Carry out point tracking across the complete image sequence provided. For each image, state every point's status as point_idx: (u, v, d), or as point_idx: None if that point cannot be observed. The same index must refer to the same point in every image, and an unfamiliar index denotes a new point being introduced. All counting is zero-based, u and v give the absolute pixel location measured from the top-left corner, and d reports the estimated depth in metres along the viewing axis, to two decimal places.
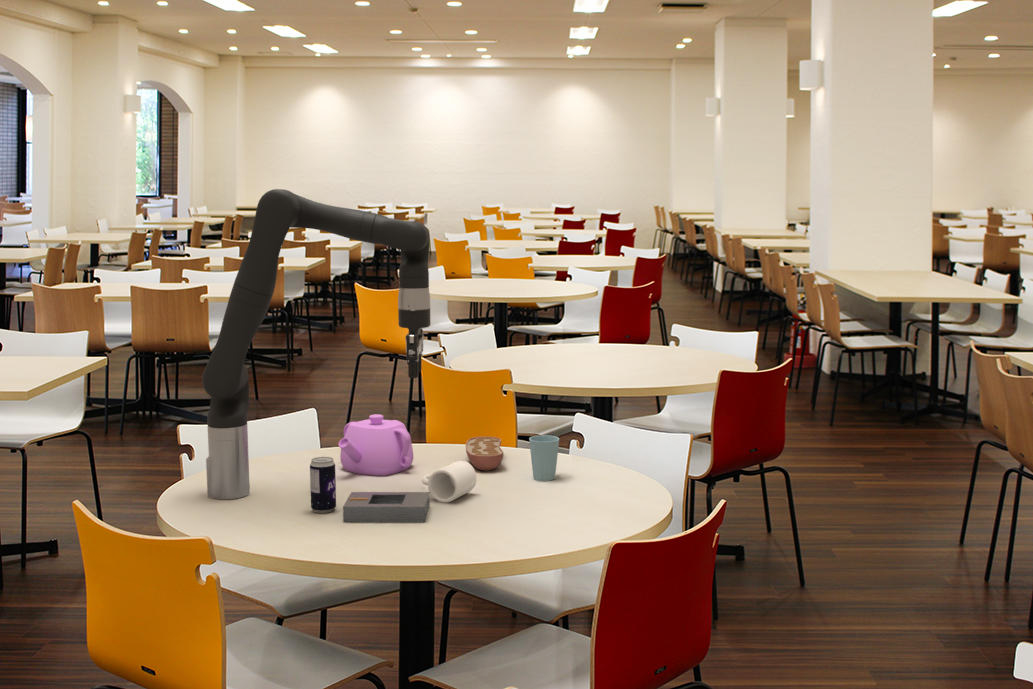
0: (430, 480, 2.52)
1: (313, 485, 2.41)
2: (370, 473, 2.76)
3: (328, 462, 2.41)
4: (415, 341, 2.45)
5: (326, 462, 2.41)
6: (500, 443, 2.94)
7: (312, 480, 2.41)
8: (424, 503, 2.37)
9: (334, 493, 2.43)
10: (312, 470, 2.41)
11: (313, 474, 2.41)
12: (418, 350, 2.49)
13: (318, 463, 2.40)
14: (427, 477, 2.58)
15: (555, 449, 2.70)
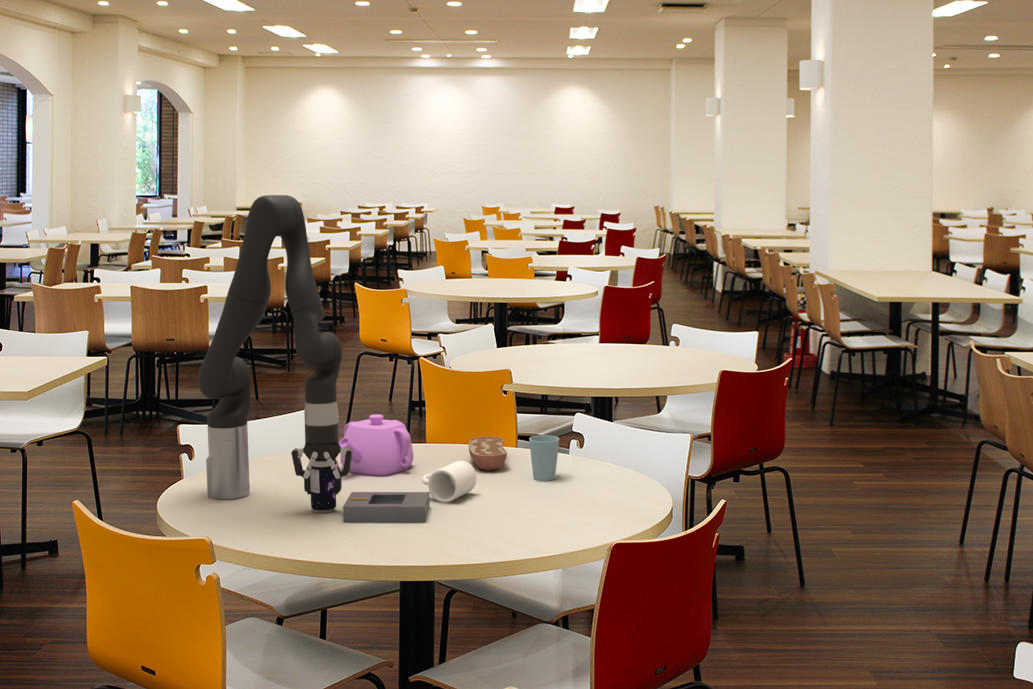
0: (430, 480, 2.52)
1: (313, 485, 2.41)
2: (370, 473, 2.76)
3: None
4: (351, 455, 2.44)
5: (326, 462, 2.41)
6: None
7: (312, 480, 2.41)
8: (424, 503, 2.37)
9: None
10: (312, 470, 2.41)
11: (313, 474, 2.41)
12: (337, 464, 2.44)
13: (318, 463, 2.40)
14: (427, 477, 2.58)
15: (555, 449, 2.70)
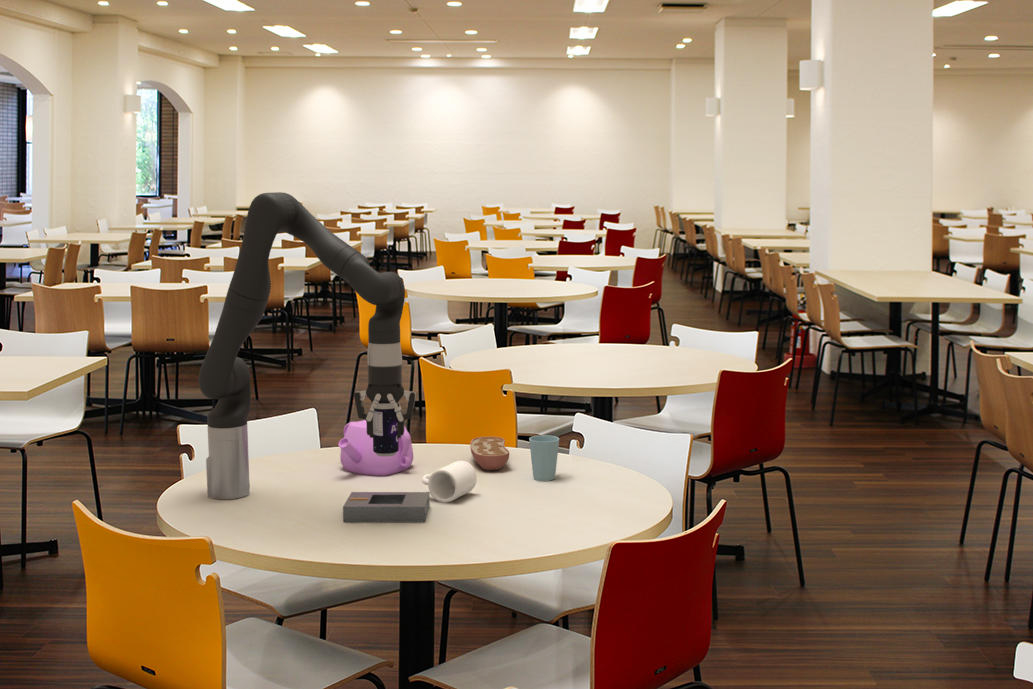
0: (430, 480, 2.52)
1: (376, 428, 2.36)
2: (370, 473, 2.76)
3: (391, 404, 2.36)
4: None
5: (389, 404, 2.36)
6: None
7: (375, 423, 2.36)
8: (424, 503, 2.37)
9: None
10: (375, 412, 2.36)
11: (376, 416, 2.36)
12: (400, 407, 2.39)
13: (381, 405, 2.36)
14: (427, 477, 2.58)
15: (555, 449, 2.70)
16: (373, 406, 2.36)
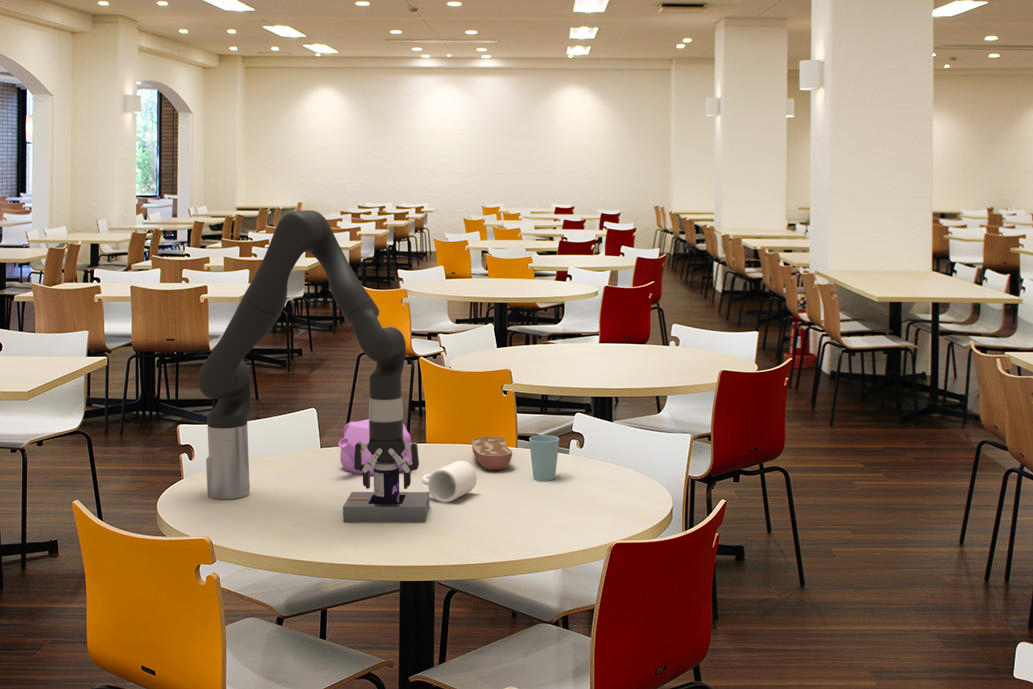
0: (430, 480, 2.52)
1: (377, 489, 2.38)
2: (370, 473, 2.76)
3: (392, 465, 2.38)
4: (417, 448, 2.40)
5: (390, 465, 2.38)
6: None
7: (376, 484, 2.38)
8: (424, 503, 2.37)
9: (398, 497, 2.40)
10: (376, 473, 2.38)
11: (377, 478, 2.38)
12: (404, 458, 2.41)
13: (382, 466, 2.37)
14: (427, 477, 2.58)
15: (555, 449, 2.70)
16: (372, 459, 2.38)
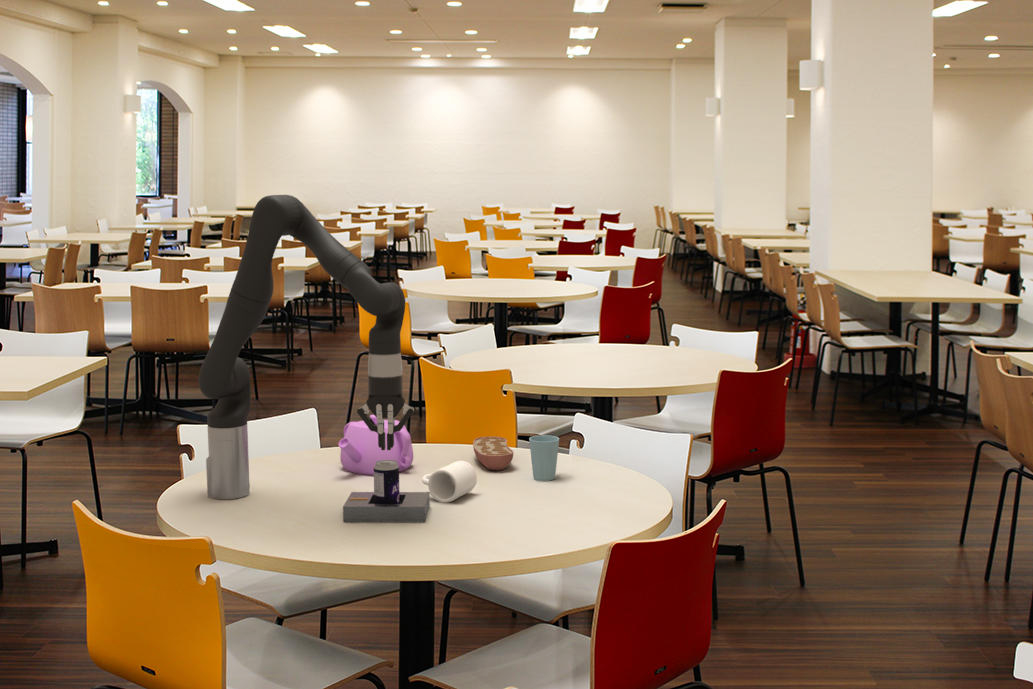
0: (430, 480, 2.52)
1: (377, 489, 2.38)
2: (370, 473, 2.76)
3: (392, 465, 2.38)
4: None
5: (391, 465, 2.38)
6: (506, 443, 2.95)
7: (376, 484, 2.38)
8: (424, 503, 2.37)
9: (398, 497, 2.40)
10: (376, 473, 2.38)
11: (377, 478, 2.38)
12: (394, 420, 2.40)
13: (383, 466, 2.37)
14: (427, 477, 2.58)
15: (555, 449, 2.70)
16: (379, 418, 2.37)
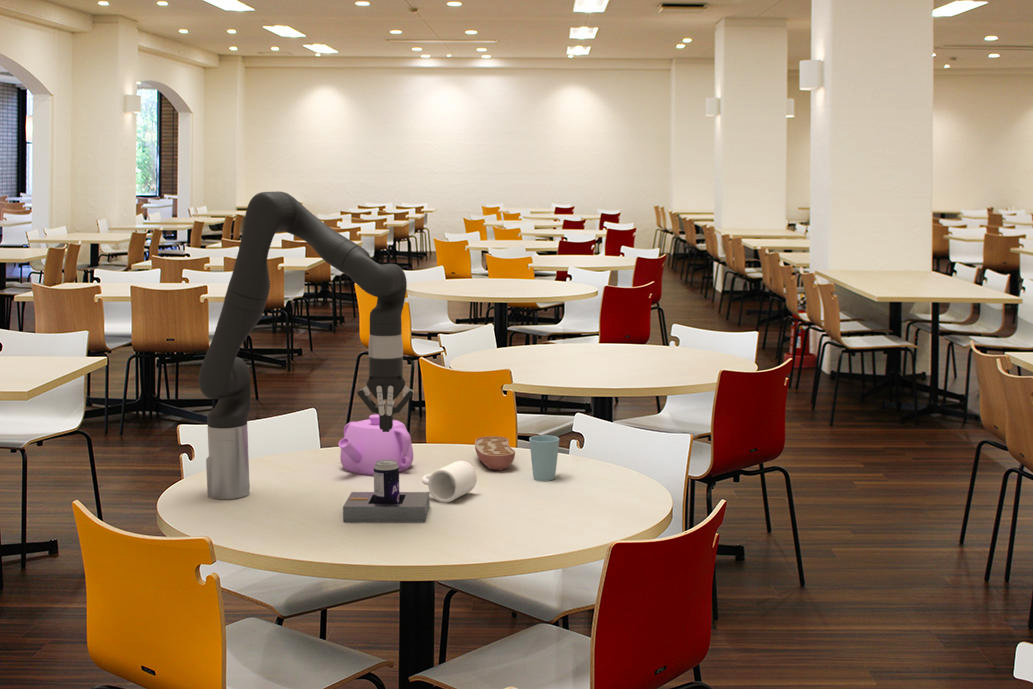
0: (430, 480, 2.52)
1: (377, 489, 2.38)
2: (370, 473, 2.76)
3: (392, 465, 2.38)
4: None
5: (390, 465, 2.38)
6: None
7: (376, 483, 2.38)
8: (424, 503, 2.37)
9: (398, 497, 2.40)
10: (376, 473, 2.38)
11: (377, 478, 2.38)
12: (393, 402, 2.39)
13: (382, 466, 2.37)
14: (427, 477, 2.58)
15: (555, 449, 2.69)
16: (379, 399, 2.36)
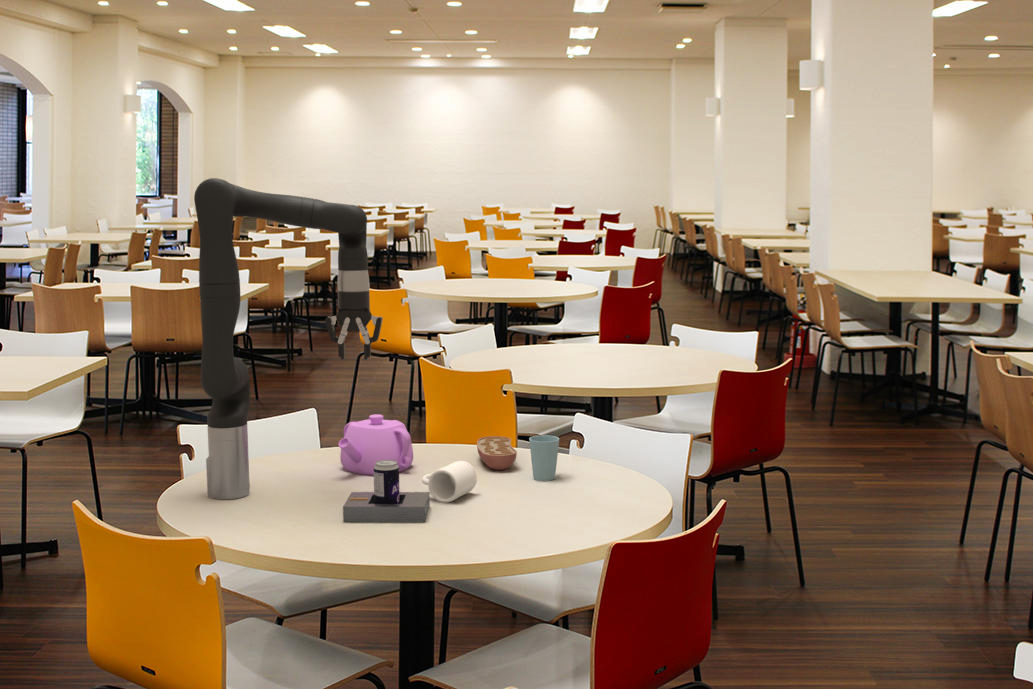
0: (430, 480, 2.52)
1: (377, 489, 2.38)
2: (370, 473, 2.76)
3: (392, 465, 2.38)
4: (381, 323, 2.58)
5: (390, 465, 2.38)
6: (510, 443, 2.95)
7: (376, 484, 2.38)
8: (424, 503, 2.37)
9: (398, 497, 2.40)
10: (376, 473, 2.38)
11: (377, 478, 2.38)
12: (367, 331, 2.58)
13: (382, 466, 2.37)
14: (427, 477, 2.58)
15: (555, 449, 2.69)
16: (343, 329, 2.55)
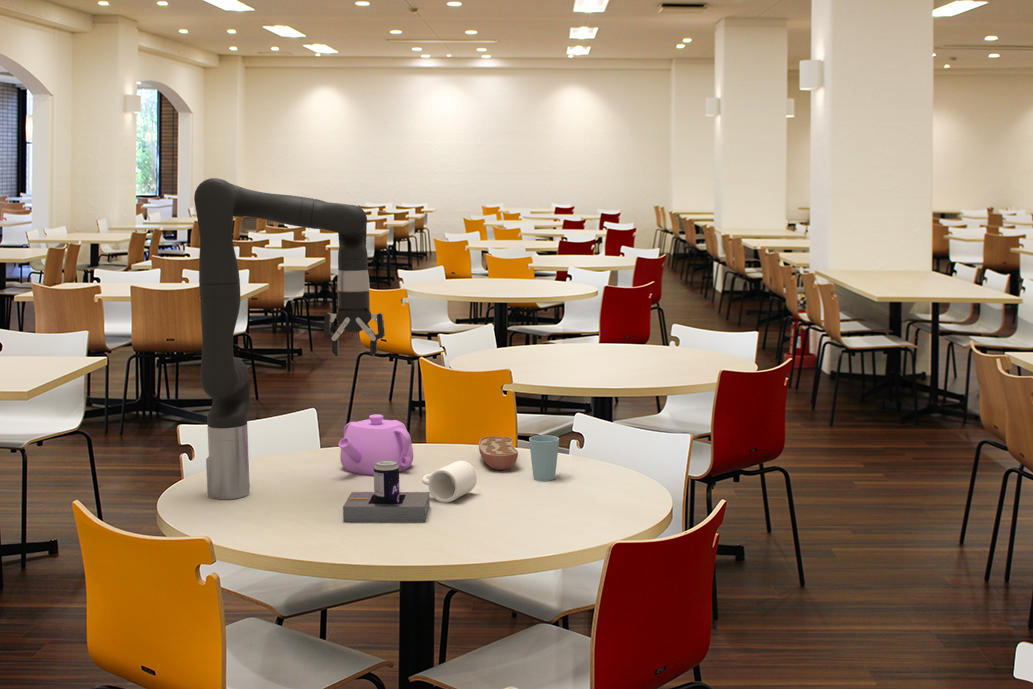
0: (430, 480, 2.52)
1: (377, 489, 2.38)
2: (370, 473, 2.76)
3: (393, 465, 2.38)
4: None
5: (391, 465, 2.38)
6: (512, 443, 2.95)
7: (376, 483, 2.38)
8: (424, 503, 2.37)
9: (398, 497, 2.40)
10: (376, 473, 2.38)
11: (377, 478, 2.38)
12: (371, 329, 2.58)
13: (383, 466, 2.37)
14: (427, 477, 2.58)
15: (555, 449, 2.70)
16: (340, 328, 2.55)
